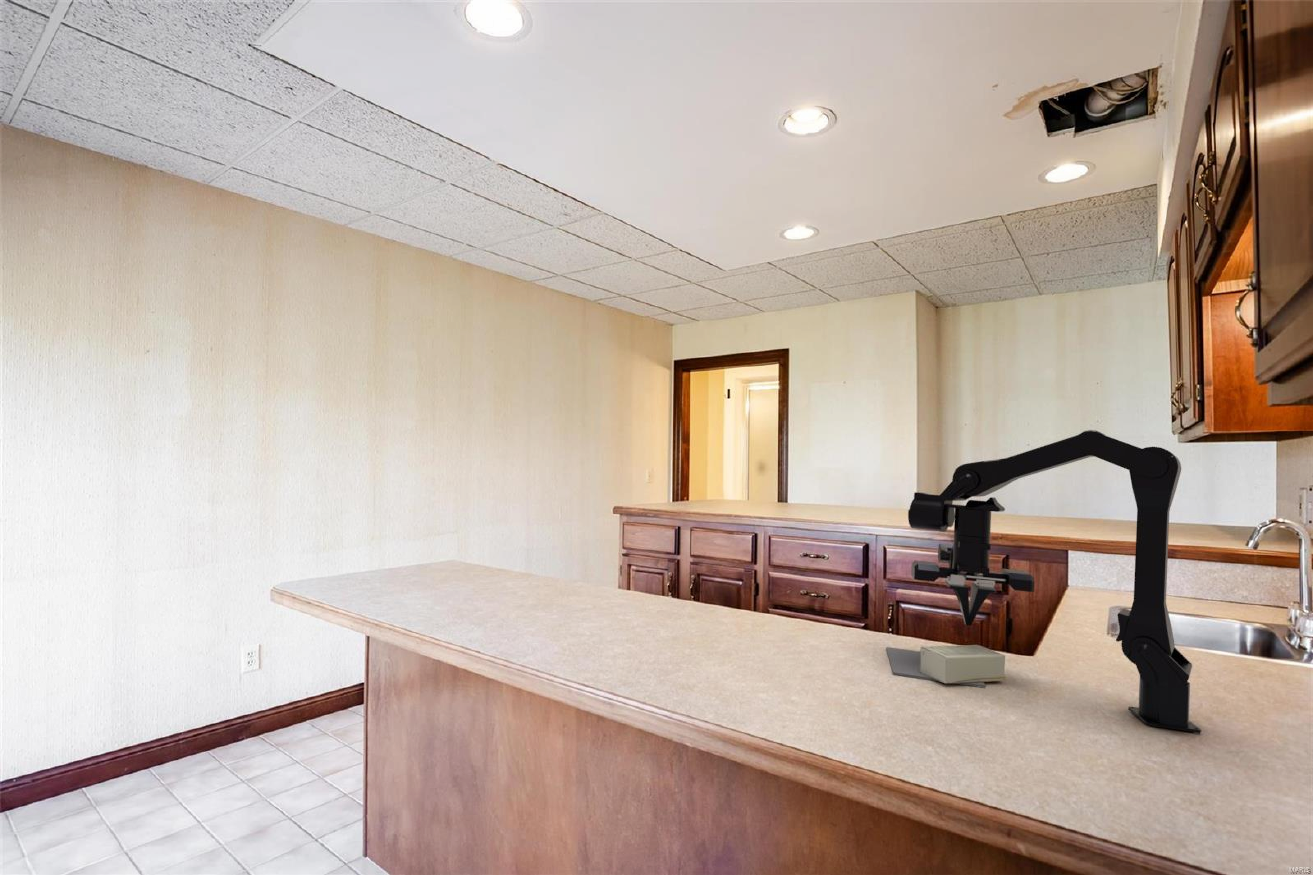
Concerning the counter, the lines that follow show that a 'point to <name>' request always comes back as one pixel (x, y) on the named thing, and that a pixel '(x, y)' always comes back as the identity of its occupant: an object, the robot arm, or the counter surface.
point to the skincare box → (962, 663)
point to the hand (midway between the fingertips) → (967, 625)
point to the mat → (912, 665)
